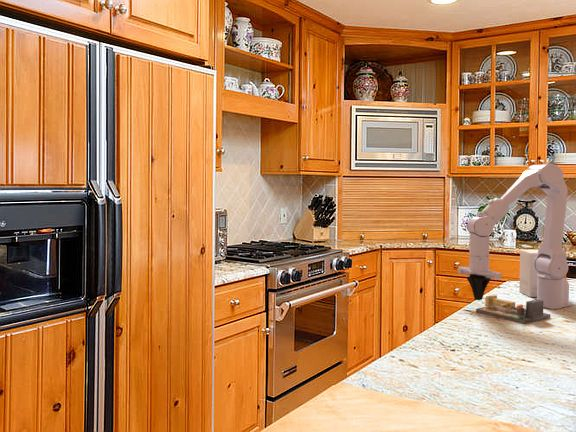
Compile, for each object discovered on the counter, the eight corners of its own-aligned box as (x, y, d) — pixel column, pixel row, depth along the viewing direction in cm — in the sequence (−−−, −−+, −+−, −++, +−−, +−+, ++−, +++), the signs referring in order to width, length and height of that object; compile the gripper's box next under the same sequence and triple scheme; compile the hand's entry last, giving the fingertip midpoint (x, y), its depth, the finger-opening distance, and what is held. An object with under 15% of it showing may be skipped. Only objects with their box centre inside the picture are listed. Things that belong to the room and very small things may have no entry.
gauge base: (501, 307, 170) (502, 289, 169) (550, 318, 156) (550, 299, 156) (476, 312, 163) (476, 294, 163) (524, 324, 150) (525, 304, 149)
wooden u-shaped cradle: (493, 304, 167) (494, 294, 167) (517, 309, 160) (517, 299, 160) (481, 306, 164) (482, 297, 164) (505, 312, 157) (505, 302, 157)
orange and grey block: (520, 314, 154) (520, 304, 154) (524, 315, 153) (524, 304, 153) (515, 315, 153) (515, 305, 153) (519, 316, 152) (519, 305, 152)
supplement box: (556, 297, 183) (557, 252, 182) (529, 297, 183) (530, 252, 182) (544, 291, 192) (545, 249, 191) (518, 291, 192) (519, 249, 191)
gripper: (451, 254, 173) (451, 296, 174) (490, 259, 160) (489, 305, 161) (466, 252, 176) (465, 294, 177) (506, 257, 164) (505, 302, 165)
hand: (478, 299), depth 170 cm, fingers closed
